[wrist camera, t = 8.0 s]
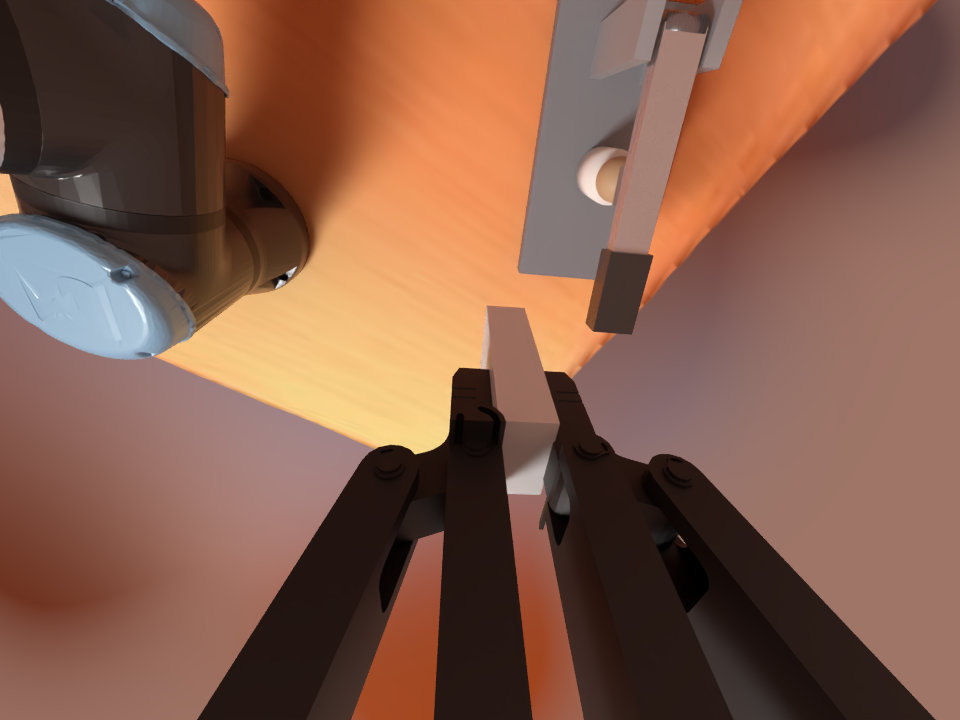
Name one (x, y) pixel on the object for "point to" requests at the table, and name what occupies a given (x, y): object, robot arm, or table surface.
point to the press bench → (595, 123)
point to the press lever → (646, 171)
